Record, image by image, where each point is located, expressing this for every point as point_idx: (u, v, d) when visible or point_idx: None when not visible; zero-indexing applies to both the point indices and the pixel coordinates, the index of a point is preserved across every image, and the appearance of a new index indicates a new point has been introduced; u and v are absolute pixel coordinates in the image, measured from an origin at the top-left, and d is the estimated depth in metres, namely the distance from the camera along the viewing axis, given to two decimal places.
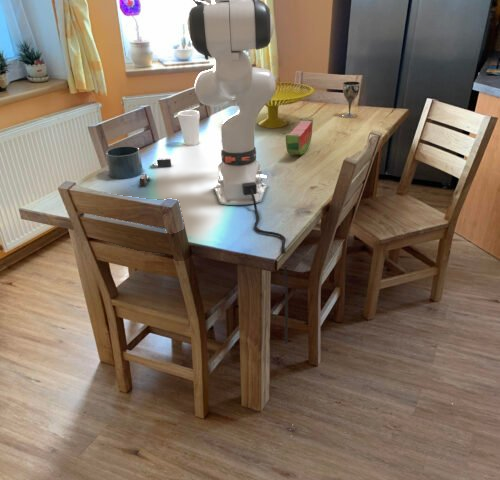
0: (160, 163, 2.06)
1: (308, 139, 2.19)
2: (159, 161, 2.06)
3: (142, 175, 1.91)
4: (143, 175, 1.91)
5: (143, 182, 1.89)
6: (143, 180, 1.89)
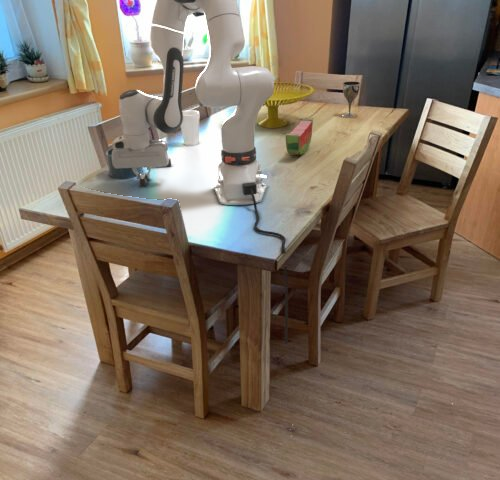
0: None
1: (308, 139, 2.19)
2: None
3: (142, 175, 1.91)
4: (143, 175, 1.91)
5: (143, 182, 1.89)
6: (143, 180, 1.89)
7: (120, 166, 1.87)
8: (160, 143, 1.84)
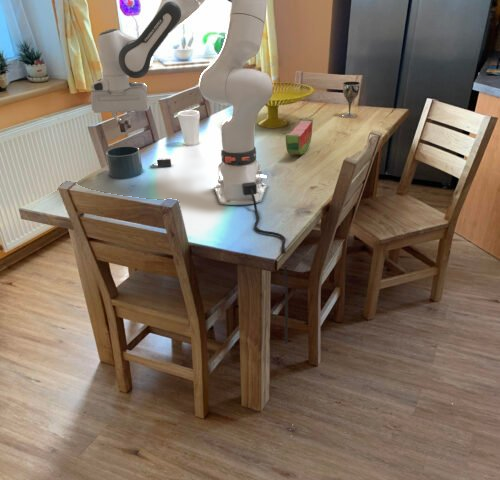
0: (160, 163, 2.06)
1: (308, 139, 2.19)
2: (159, 161, 2.06)
3: (122, 121, 1.88)
4: (123, 121, 1.88)
5: (123, 127, 1.86)
6: (123, 125, 1.86)
7: (100, 110, 1.84)
8: (140, 86, 1.81)
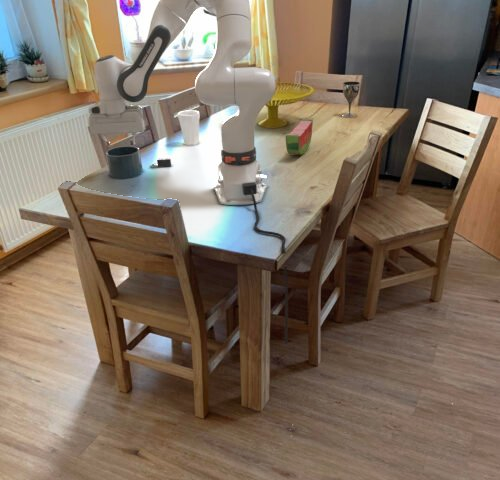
0: (160, 163, 2.06)
1: (308, 139, 2.19)
2: (159, 161, 2.06)
3: None
4: None
5: None
6: None
7: (97, 132, 1.91)
8: (136, 109, 1.88)
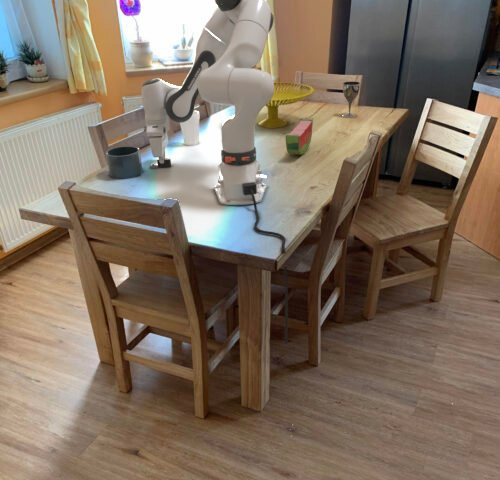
0: None
1: (308, 139, 2.19)
2: None
3: None
4: None
5: None
6: None
7: (163, 153, 1.98)
8: None
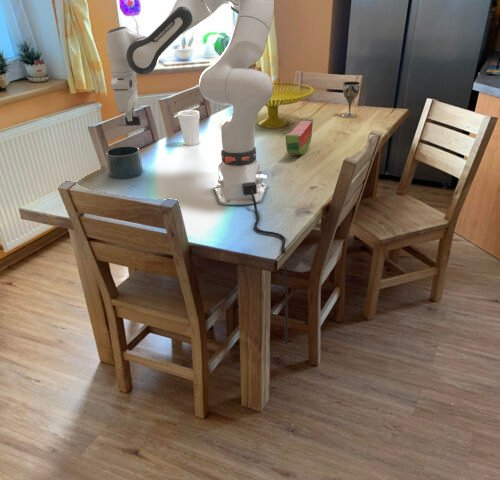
0: (128, 121, 1.94)
1: (308, 139, 2.19)
2: None
3: None
4: None
5: None
6: None
7: (129, 108, 1.85)
8: None
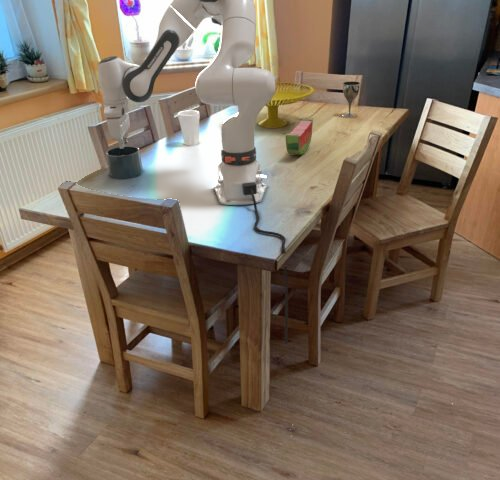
0: None
1: (308, 139, 2.19)
2: None
3: None
4: None
5: None
6: None
7: (122, 135, 1.88)
8: None
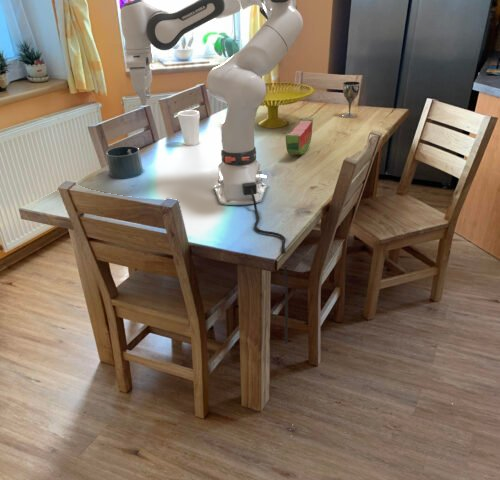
0: None
1: (308, 139, 2.19)
2: None
3: None
4: None
5: None
6: None
7: (145, 88, 1.73)
8: None
